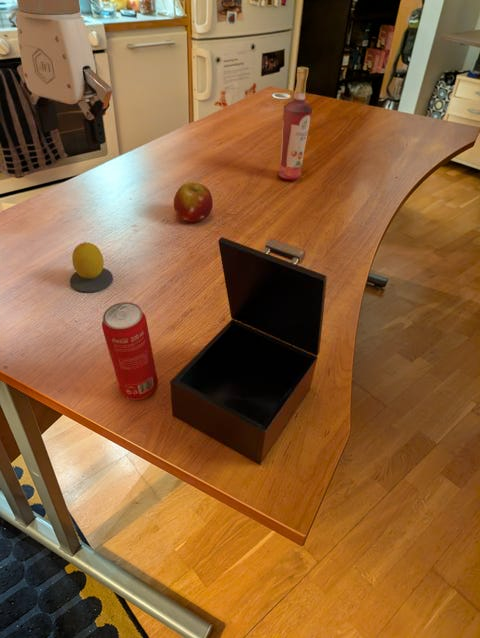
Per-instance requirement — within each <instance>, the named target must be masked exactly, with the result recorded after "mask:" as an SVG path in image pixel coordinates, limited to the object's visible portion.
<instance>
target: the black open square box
mask: <svg viewBox="0 0 480 638" xmlns="http://www.w3.org/2000/svg"><path fill="white" fill-rule="evenodd" d="M317 361H318V356H315V355H313V354H311V353H309V352H306V351H304V350H302V349H300V348H297V347H295V346H293V345H291V344H288V343H286V342H284V341H282V340H279V339H277V338H275V337H273V336H270V335H268V334H266V333H264V332H261V331H259V330H257V329H255V328H252V327H250V326H248V325H246V324H243V323H241V322H239V321H237V320H234V319H232V318H231V320H229V322H228V323H226V325H225V326H223V328H221V329H220V331H219V332H218V333H217V334H216V335H215V336H213V338H212V339H211V340H210V341H209V342H208V343H207V344H205V346H203V348H201V350H200V351H199V352H198V353H197V354H196V355H195V356H194V357H193V358H192V359H191V360H190V361H189V362H188V363H187V364H186V365H185V366H184V367H183V368H182V369H181V370H180V371H179V372H178V373H177V374H175V376H174V377H173V378H171V380H170V382H169V385H170V387H169V388H170V398H171V399H170V400H171V413H172V416H173V417H175V418H176V419H178V420H180V421H182V422H184V423H186V424H187V425H189V426H191V427H193V428H195V430H198V431H200V432H202V433H204V434H205V435H206V436H208V437H210V438H211V439H213V440H216V441H217V442H219V443H220V444H222V445H224V446H226V447H228V448H229V449H231V450H233V451H235V452H237V453H238V454H240V455H242V456H243V457H245V458H247V459H248V460H251V461H252V462H254V463H256V464H258V465H259V466H261V465H262V463H263V462H264V460H265V459H266V458H267V456H268V454H269V453H270V452H271V450H272V448H273V447H274V446H275V444H276V442H277V441H278V439H279V438H280V436H281V435H282V434H283V432H284V430H285V429H286V427H287V426H288V425H289V423H290V421H291V420H292V418H293V417H294V415H295V413H296V412H297V411H298V409H299V408H300V406H301V405H302V403H303V401H304V400H305V398H306V397H307V395H308V394H309V392H310V391H311V387H312V383H313V380H314V374H315V370H316V367H317Z"/></svg>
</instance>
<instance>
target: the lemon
mask: <svg viewBox="0 0 480 638" xmlns="http://www.w3.org/2000/svg"><path fill="white" fill-rule="evenodd" d="M71 256H72V257H71V260H72V261H71V262H72V266H73V269H74V271H75V272H77V273H78V274H79V275H80V276H81V277H83V278H87V279H93V278H95V277H97V276H98V275H99V274H100V273H101V272H102V270H103V268H104V263H105V262H104V257H103V254H102V252H101V250H100V248H99V247H98V246H97V245H95V244H93V243H91V242H85V241H84V242H81V243H79V244H78V245H76V246H75V248H74V249H73V251H72V255H71Z"/></svg>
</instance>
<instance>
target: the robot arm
mask: <svg viewBox="0 0 480 638" xmlns="http://www.w3.org/2000/svg"><path fill="white" fill-rule="evenodd" d="M16 2H17V7H18V11H17V12H16V30H17V32H16V33H17V40H18V42H17V43H18V47H19V55H20V60H21V64H19V65H18V66H17V68H16V71H17V73H18V75H19V77H20V79H21V81H22V83H23V87H24V90H25V91H26V92H27V93H28V94H29V96H30V102H31V104H33V105H34V108H35V113H36V117H37V122H38V126H39V131H40V132H41V133H44V134H46V133H49V132H53V131H56V130H58V129H59V128H60V123H59V118H58V113H57V108H56V107H57V106H56V103H55V101H56V102H60V103H62V104H63V103H64V104H66V105H67V104H68V105H74V104H77V105H78V107H79V109H80V110H81V111H82V113H83V115H84V116H85V118H83V119H82V120H83V121H82V122H83V128H84V133H85V134H84V135H85V139H86V141H85V142H86V145H87V147H88V148H91V149H93V148H95V147H99V146H100V145H104V144H105V143H106V142H107V141H106V139H107V138H106V132H105V124H104V118H103V117H105V116H106V113H107V110H108V109H109V107H110V101H111V97H112V95H113V89H112V87H111V86H110V85H109V84H108V83H107V82H106V81H105V80H103V78H101V77H100V76H99V75H98V74H97V69H96V64H95V57H94V53H93V48H92V45H91V40H90V36H89V33H88V29H87V25H86V22H85V20H84V19H85V18H84V17H83V16H82V13H81V5H80V0H16ZM88 102H90V104H91V107H90V105H89V103H88Z"/></svg>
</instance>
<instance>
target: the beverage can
mask: <svg viewBox="0 0 480 638" xmlns="http://www.w3.org/2000/svg"><path fill="white" fill-rule="evenodd" d="M148 326H149V325H148V321H147V317H146V314H145V313H144V312H143V311H142V309H141V306H139V305H138V304H136V303H134V302H131V301H130V302H129V301H123V302H122V301H121V302H117V303H113V304H112V305H110V306H109V307H108V308H106V309H105V311H104V312H103V315H102V321H101V328H102V329H101V330H102V333H103V336H104V339H105V343H106V347H107V351H108V354H109V357H110V361H111V364H112V368H113V371H114V375H115V379H116V382H117V386H118V389H119V392H120V393H121V395H123V397H125V398H127V399H129V400H135V401H136V400H142V399H146V398H148V397H149V396H151V395H152V393H154V392H155V390H156V389H157V387H158V375H157V369H156V364H155V359H154V353H153V348H152V343H151V336H150V332H149V331H150V330H149V327H148Z"/></svg>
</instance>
